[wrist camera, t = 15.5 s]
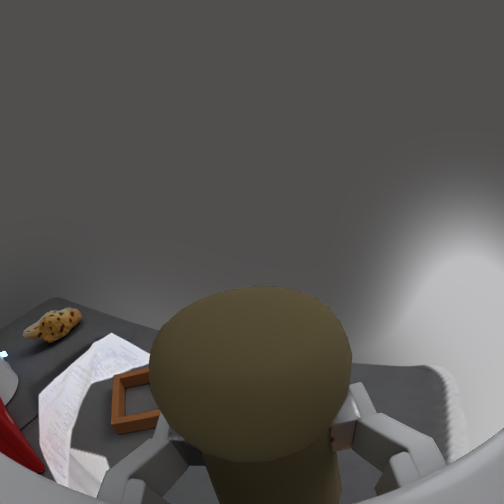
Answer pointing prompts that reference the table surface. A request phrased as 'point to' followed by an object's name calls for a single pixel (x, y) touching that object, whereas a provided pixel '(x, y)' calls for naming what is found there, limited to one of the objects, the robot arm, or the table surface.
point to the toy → (54, 325)
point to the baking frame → (118, 404)
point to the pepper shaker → (256, 392)
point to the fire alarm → (16, 443)
